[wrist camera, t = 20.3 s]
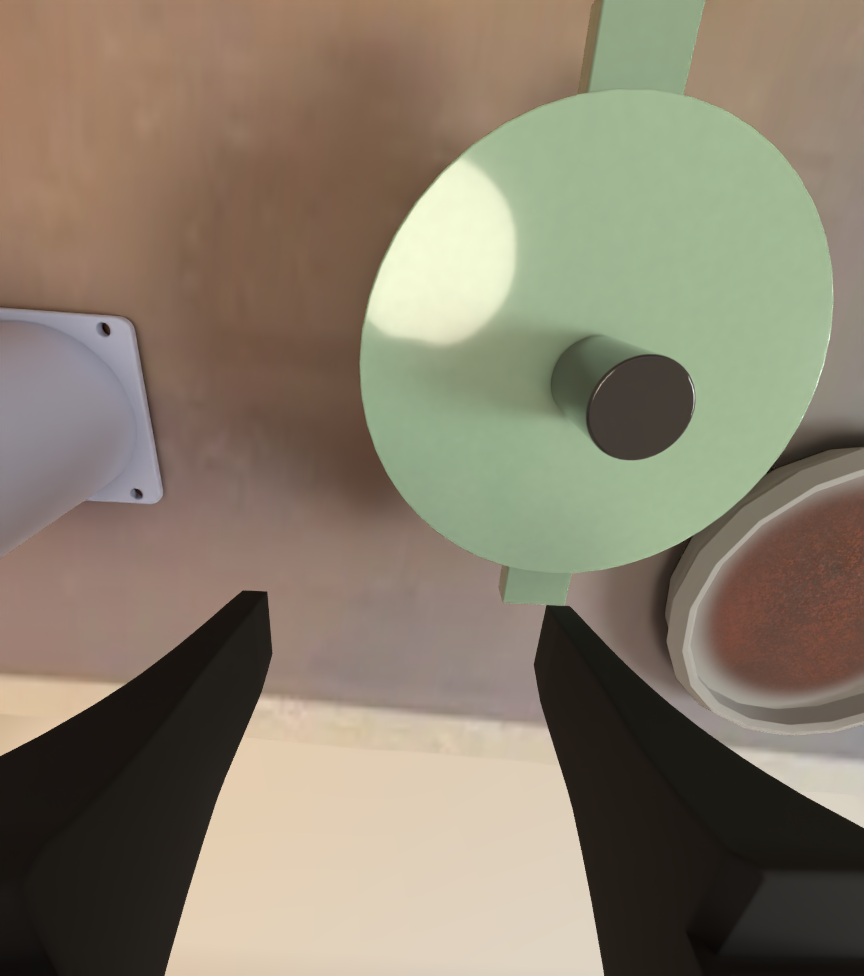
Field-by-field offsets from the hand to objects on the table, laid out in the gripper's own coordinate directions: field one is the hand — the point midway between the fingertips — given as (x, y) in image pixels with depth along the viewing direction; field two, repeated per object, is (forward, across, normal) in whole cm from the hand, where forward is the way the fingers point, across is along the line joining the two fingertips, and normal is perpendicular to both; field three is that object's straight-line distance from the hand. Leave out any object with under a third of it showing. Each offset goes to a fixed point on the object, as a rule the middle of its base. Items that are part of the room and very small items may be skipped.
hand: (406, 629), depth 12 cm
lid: (+4, -5, -6) cm, 9 cm away
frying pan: (+11, -27, +5) cm, 29 cm away
